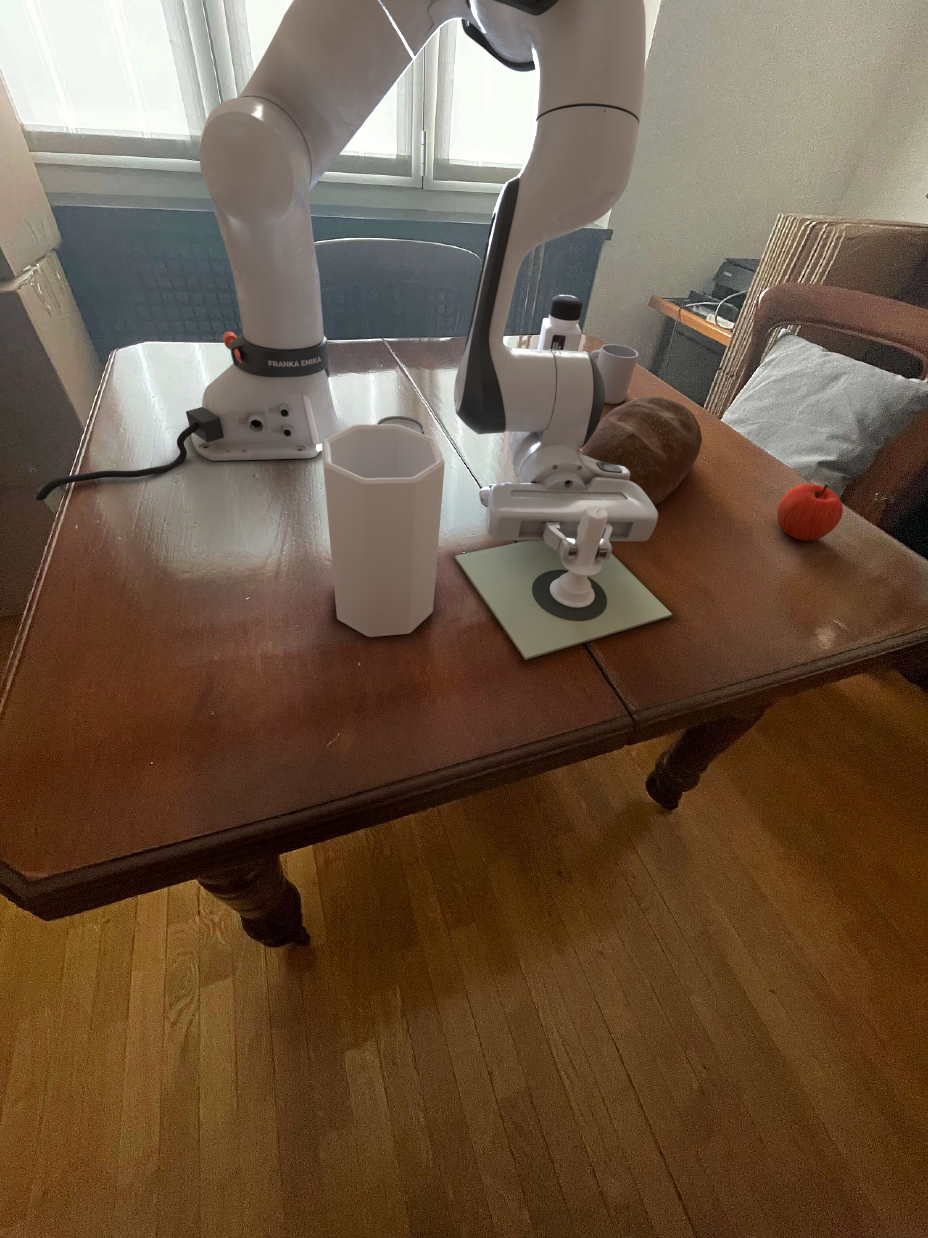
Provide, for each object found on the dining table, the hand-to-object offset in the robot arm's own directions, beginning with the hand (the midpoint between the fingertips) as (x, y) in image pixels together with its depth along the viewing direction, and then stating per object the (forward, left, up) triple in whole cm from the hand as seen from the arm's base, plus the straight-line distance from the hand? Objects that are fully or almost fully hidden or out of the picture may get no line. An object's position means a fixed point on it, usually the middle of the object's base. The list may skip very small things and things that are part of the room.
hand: (587, 554), depth 59 cm
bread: (+27, +23, -7) cm, 36 cm away
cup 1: (-21, +7, -7) cm, 23 cm away
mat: (0, +3, -7) cm, 8 cm away
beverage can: (-13, +24, -7) cm, 28 cm away
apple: (+41, +2, -7) cm, 42 cm away
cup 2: (+41, +52, -7) cm, 67 cm away
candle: (0, +1, -7) cm, 7 cm away
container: (+41, +70, -7) cm, 81 cm away
